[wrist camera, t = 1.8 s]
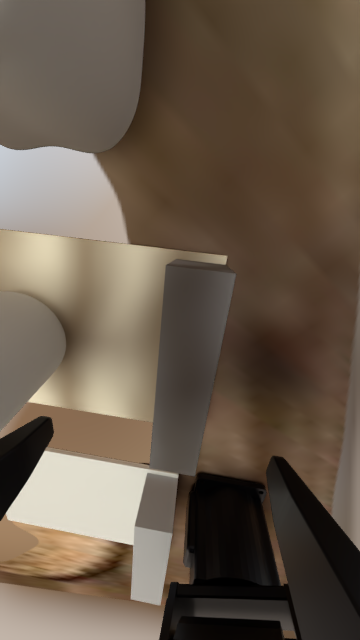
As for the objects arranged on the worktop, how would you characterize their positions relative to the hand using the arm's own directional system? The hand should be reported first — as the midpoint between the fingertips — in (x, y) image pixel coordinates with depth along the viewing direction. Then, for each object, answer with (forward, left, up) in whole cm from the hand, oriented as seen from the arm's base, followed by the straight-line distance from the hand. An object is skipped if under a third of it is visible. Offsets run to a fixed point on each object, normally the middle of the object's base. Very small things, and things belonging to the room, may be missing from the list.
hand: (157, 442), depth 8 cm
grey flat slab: (+9, +20, -7) cm, 23 cm away
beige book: (+8, 0, -7) cm, 11 cm away
